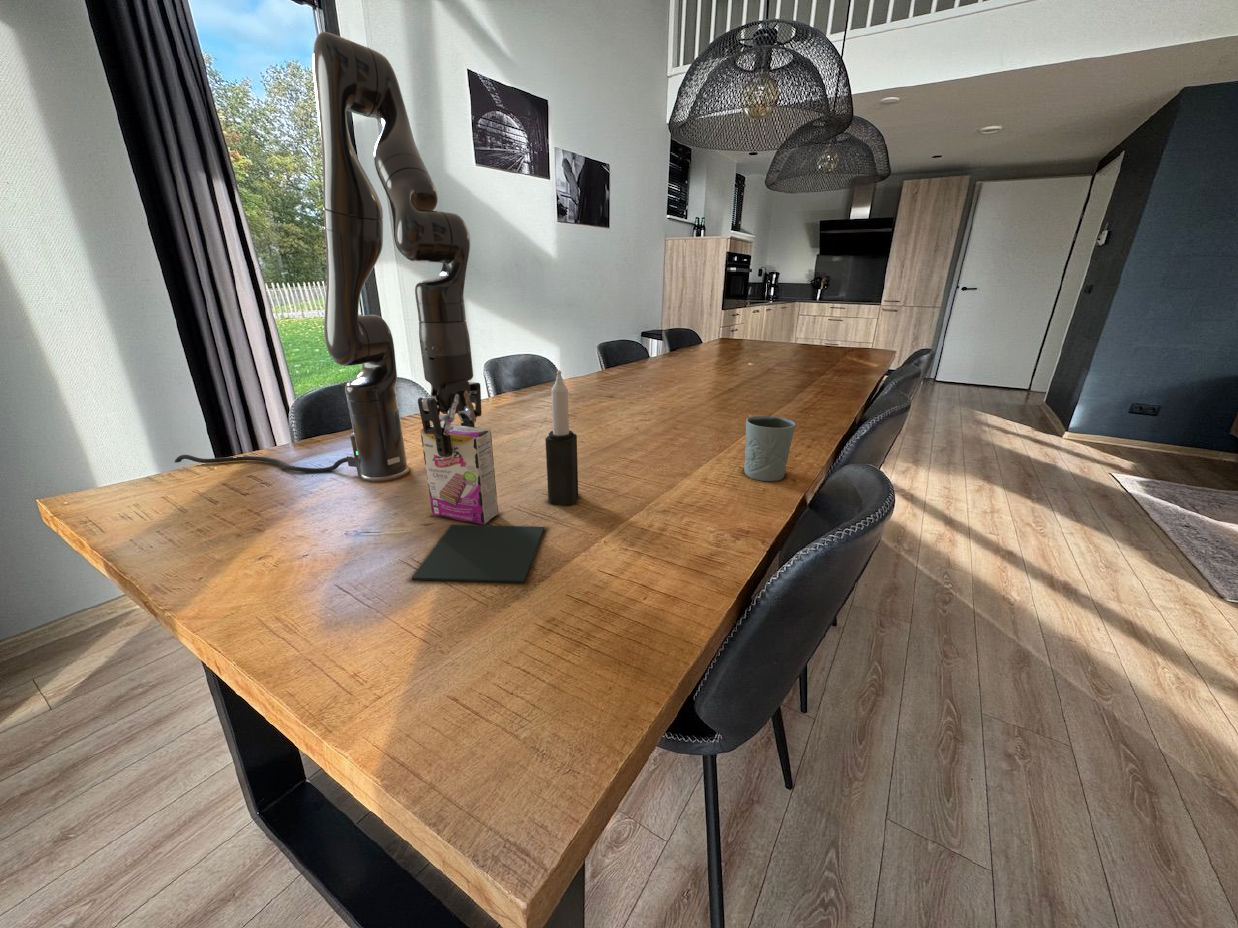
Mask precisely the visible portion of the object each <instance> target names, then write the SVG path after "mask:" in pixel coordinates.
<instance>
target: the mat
mask: <svg viewBox="0 0 1238 928" xmlns="http://www.w3.org/2000/svg"><path fill="white" fill-rule="evenodd" d="M544 530H545V526H524V525H523V526H521V525H519V526H517V525H482V524H477V525H475V524H451V525H450V527H448V529H447V530H446V532H445V533H444V535H442V537H441V538H440V540H439V541H438V542H437V544H436V545H435V546H434V547H433V549H432V550H431V551H430V553H429V555H428V556H426V558H425V560H424V561H423V562H422V563H421V565H419V567H418V568H417V570H416V572H415V573H414V574H413V576H412V577H411V580H412V581H432V582H433V581H436V582H437V581H440V582H473V583H475V582H476V583H511V584H512V583H514V584H524V583H525V582H526V581H525V580H526V578H527V575H528V573H529V570H530V568H531V566H532V562H533V560H534V557H535V554H536V552H537V549H538V546H539V545H540V542H541V538H542V536H543V533H544Z"/></svg>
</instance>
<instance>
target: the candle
mask: <svg viewBox="0 0 1238 928" xmlns="http://www.w3.org/2000/svg"><path fill="white" fill-rule="evenodd" d="M550 393H551V413H552V414H551V415H552V430H550V432H548V435H547V436H546V438H545V439H544V440H545V456H546V457H545V459H546V462H545V463H546V481H547V500H548V501H547V502H548V503H549V504H552V505H561V506H572V505H574V504H575V501H576V500H577V499H578V498H579V472H578V471H579V469H578V468H579V467H578V435H577V434H576V433H574V431H572V430H571V429H570V419H569V417H570V416H569V415H570V413H569V390H568V387H567V386H566V385H565V383H564V380H563V377H562V371H561V370H559V369H558V370H557V371H556V378H555V382H554V384H553V386H552V388H551V392H550Z"/></svg>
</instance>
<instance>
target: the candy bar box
mask: <svg viewBox="0 0 1238 928" xmlns="http://www.w3.org/2000/svg"><path fill="white" fill-rule="evenodd" d="M440 424H441V428H443V424H444V422H440ZM430 425H431V426H433V424H430ZM419 432H420V438H421V445H422V453H423V460H424V466H425V472H426V480H427V485H428V494H429V501H430V508H431V515H432V516H436V517H440V518H446V519H450V520H451V519H452V520H456V521H460V522H461V521H462V522H465V523H466V522H467V523H473V524H477V525H483V526H486V524H488V523H489V522H490V521H492V519H494V518H495V517H497V515H499V506H498V495H497V486H496V485H497V483H496V475H495V474H496V471H495V461H494V450H493V449H494V448H493V439H492V438H493V437H492V429H489V428H483V427H476V426H475V427H468V426H461V424H460V425H459V424H452V423H451V425H450V430H449V434H448V435H450V439H451V447H452V455H451V456H450V457H442V456H439V454H438V452H437V445H436V439H435V435H434V434H425V433H424V429H423V428H421V429H419Z"/></svg>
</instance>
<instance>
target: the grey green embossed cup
mask: <svg viewBox="0 0 1238 928" xmlns="http://www.w3.org/2000/svg"><path fill="white" fill-rule="evenodd" d="M796 425H797V424H796V422H795V421H793V420H791V419H789V418H786V417H785V418H784V417H779V416H772V415H754V416H750V417H748V418H746V420H745V445H744V446H745V448H744V467H743V468H744V470H743V471H744V474H745V475H746V476H747V477H748V478H751V479H753V480H757V481H761V482H777V481H781V480H782V479H784V477H785V474H786V470H787V464H788V460H789V456H790V452H791V446H792V442H793V437H794V433H795V429H796Z"/></svg>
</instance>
